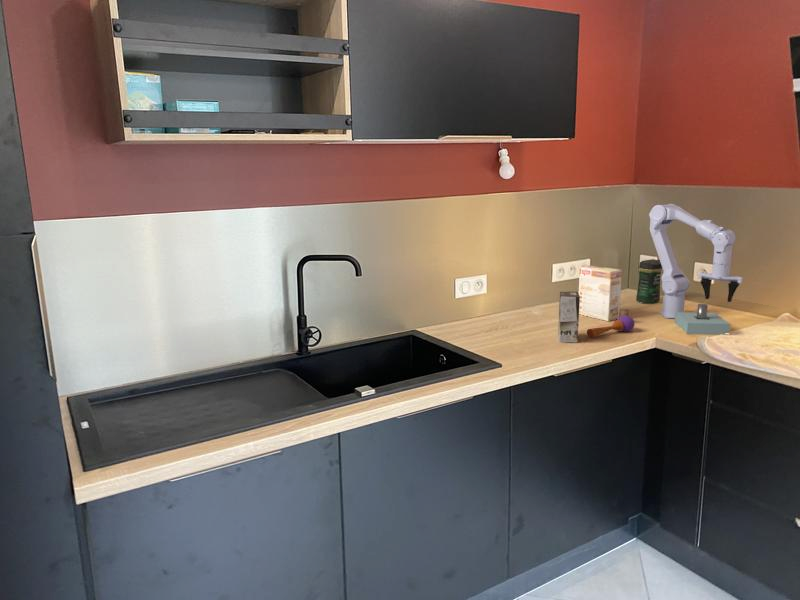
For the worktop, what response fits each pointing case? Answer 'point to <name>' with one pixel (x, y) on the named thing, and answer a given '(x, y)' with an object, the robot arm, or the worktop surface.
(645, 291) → the coffee jar
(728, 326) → the hole block
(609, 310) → the coffeecake box
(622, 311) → the short pin
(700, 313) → the long pin
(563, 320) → the coffee box
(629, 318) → the kendama
